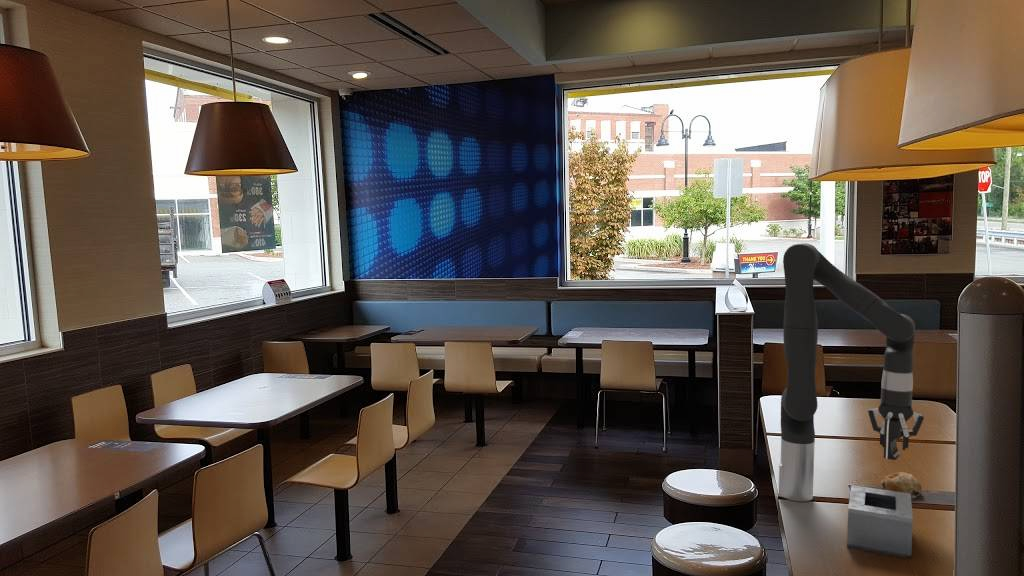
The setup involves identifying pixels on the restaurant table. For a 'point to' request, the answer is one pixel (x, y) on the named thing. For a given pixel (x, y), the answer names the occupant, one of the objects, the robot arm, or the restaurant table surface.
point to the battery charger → (892, 438)
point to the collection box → (880, 521)
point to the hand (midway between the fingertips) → (893, 447)
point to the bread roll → (902, 483)
